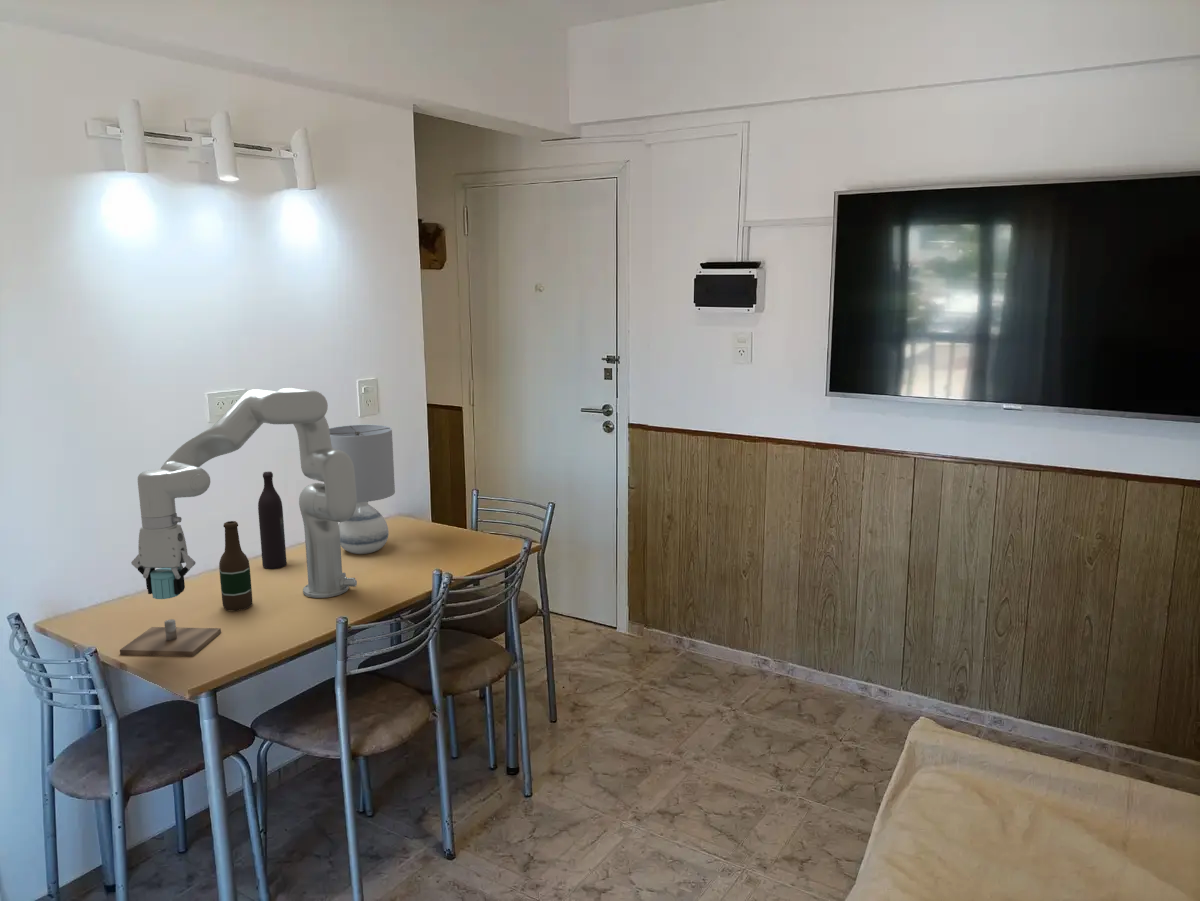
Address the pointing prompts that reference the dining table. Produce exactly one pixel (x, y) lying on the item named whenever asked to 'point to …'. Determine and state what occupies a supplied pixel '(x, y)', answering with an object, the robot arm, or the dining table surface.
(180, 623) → the dining table surface
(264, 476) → the wine bottle
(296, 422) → the robot arm
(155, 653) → the post board
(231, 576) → the beer bottle
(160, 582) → the cap
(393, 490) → the lamp
